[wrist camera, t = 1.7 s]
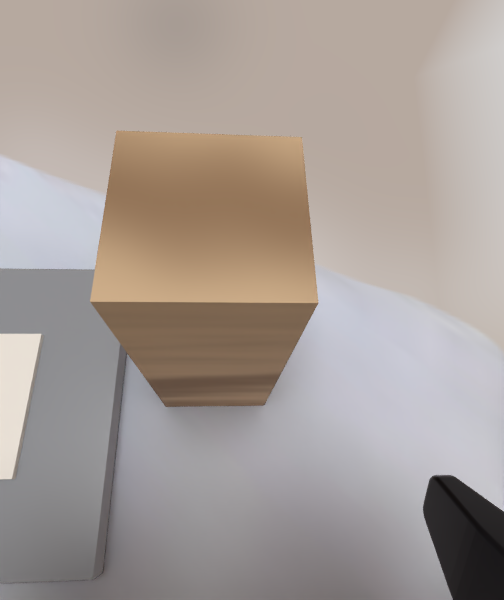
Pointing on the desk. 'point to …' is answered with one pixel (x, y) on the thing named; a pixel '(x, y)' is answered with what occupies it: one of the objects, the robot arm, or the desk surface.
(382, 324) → the desk surface
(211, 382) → the oak block
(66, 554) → the baseplate
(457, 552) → the robot arm
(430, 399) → the desk surface
